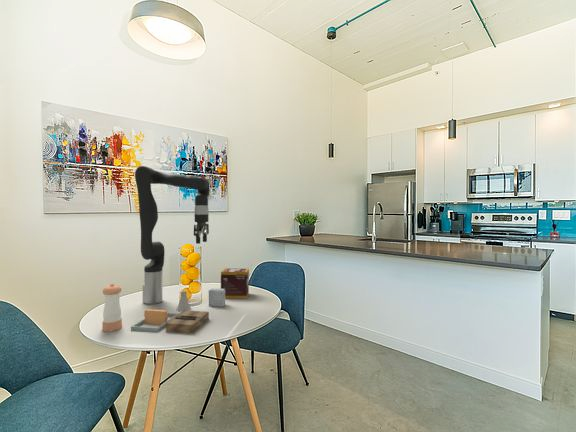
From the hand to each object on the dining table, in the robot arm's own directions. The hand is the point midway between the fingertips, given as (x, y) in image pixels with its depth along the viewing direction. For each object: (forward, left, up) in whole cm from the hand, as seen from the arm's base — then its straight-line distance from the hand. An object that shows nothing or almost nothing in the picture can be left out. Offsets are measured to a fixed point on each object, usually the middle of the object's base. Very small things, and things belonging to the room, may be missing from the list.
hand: (201, 242), depth 167 cm
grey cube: (+11, -5, -33) cm, 35 cm away
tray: (-5, -36, -33) cm, 49 cm away
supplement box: (+15, +14, -33) cm, 39 cm away
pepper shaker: (-22, -42, -33) cm, 58 cm away
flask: (-2, -17, -33) cm, 37 cm away
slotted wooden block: (+10, -36, -33) cm, 50 cm away
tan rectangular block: (0, -35, -30) cm, 46 cm away
